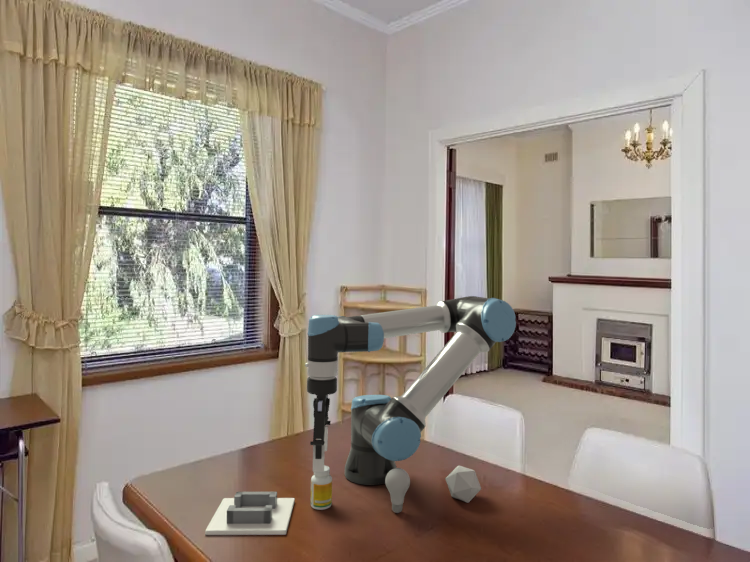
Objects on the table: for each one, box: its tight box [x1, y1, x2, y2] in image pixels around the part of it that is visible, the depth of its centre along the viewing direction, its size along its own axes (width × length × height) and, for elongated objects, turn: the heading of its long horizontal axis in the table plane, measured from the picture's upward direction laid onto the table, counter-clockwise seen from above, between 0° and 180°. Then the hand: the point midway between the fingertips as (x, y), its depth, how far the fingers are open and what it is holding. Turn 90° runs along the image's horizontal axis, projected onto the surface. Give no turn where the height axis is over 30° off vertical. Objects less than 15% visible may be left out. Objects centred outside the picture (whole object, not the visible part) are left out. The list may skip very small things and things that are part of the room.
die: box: [445, 465, 482, 503], centre depth 135 cm, size 8×9×10 cm
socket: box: [204, 491, 295, 536], centre depth 123 cm, size 18×16×4 cm
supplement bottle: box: [310, 464, 333, 511], centre depth 130 cm, size 5×5×10 cm
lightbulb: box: [385, 467, 411, 514], centre depth 127 cm, size 6×6×11 cm
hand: (320, 460), depth 130 cm, fingers open, 13 cm apart
